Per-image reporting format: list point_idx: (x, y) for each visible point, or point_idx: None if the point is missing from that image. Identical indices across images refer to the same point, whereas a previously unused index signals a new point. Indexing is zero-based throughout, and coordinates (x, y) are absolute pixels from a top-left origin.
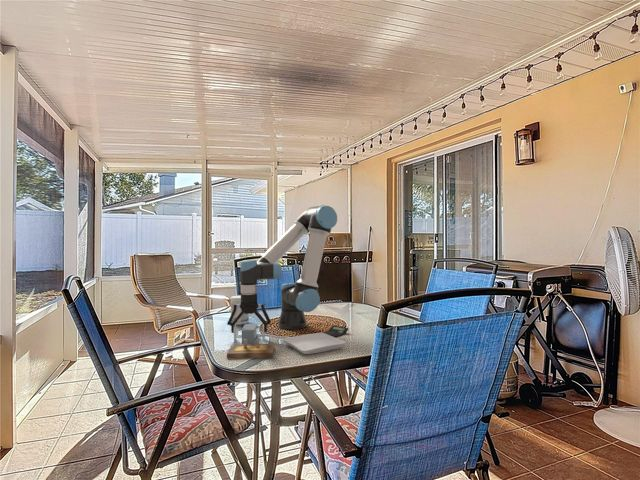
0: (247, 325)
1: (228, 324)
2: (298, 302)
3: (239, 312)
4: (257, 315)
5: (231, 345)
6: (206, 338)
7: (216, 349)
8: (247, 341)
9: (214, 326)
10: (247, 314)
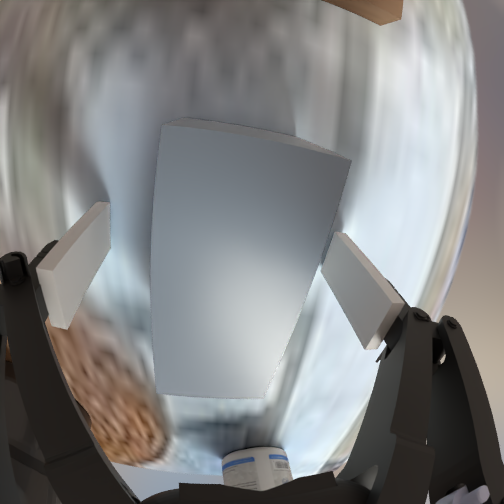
0: (245, 364)
1: (447, 319)
2: None
3: (265, 489)
4: (63, 422)
5: (401, 2)
6: (438, 309)
7: (455, 83)
8: (249, 127)
9: (347, 429)
10: (229, 483)
